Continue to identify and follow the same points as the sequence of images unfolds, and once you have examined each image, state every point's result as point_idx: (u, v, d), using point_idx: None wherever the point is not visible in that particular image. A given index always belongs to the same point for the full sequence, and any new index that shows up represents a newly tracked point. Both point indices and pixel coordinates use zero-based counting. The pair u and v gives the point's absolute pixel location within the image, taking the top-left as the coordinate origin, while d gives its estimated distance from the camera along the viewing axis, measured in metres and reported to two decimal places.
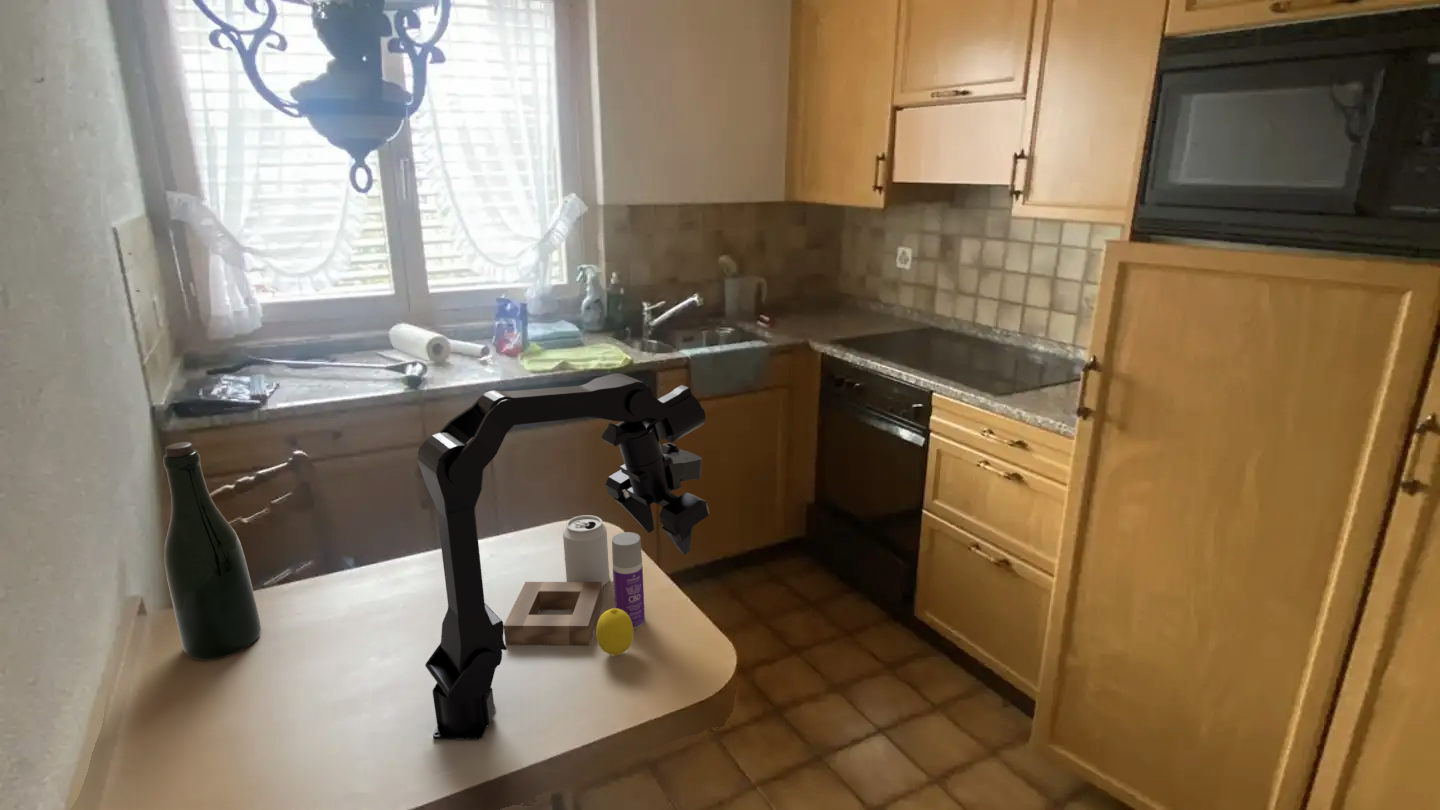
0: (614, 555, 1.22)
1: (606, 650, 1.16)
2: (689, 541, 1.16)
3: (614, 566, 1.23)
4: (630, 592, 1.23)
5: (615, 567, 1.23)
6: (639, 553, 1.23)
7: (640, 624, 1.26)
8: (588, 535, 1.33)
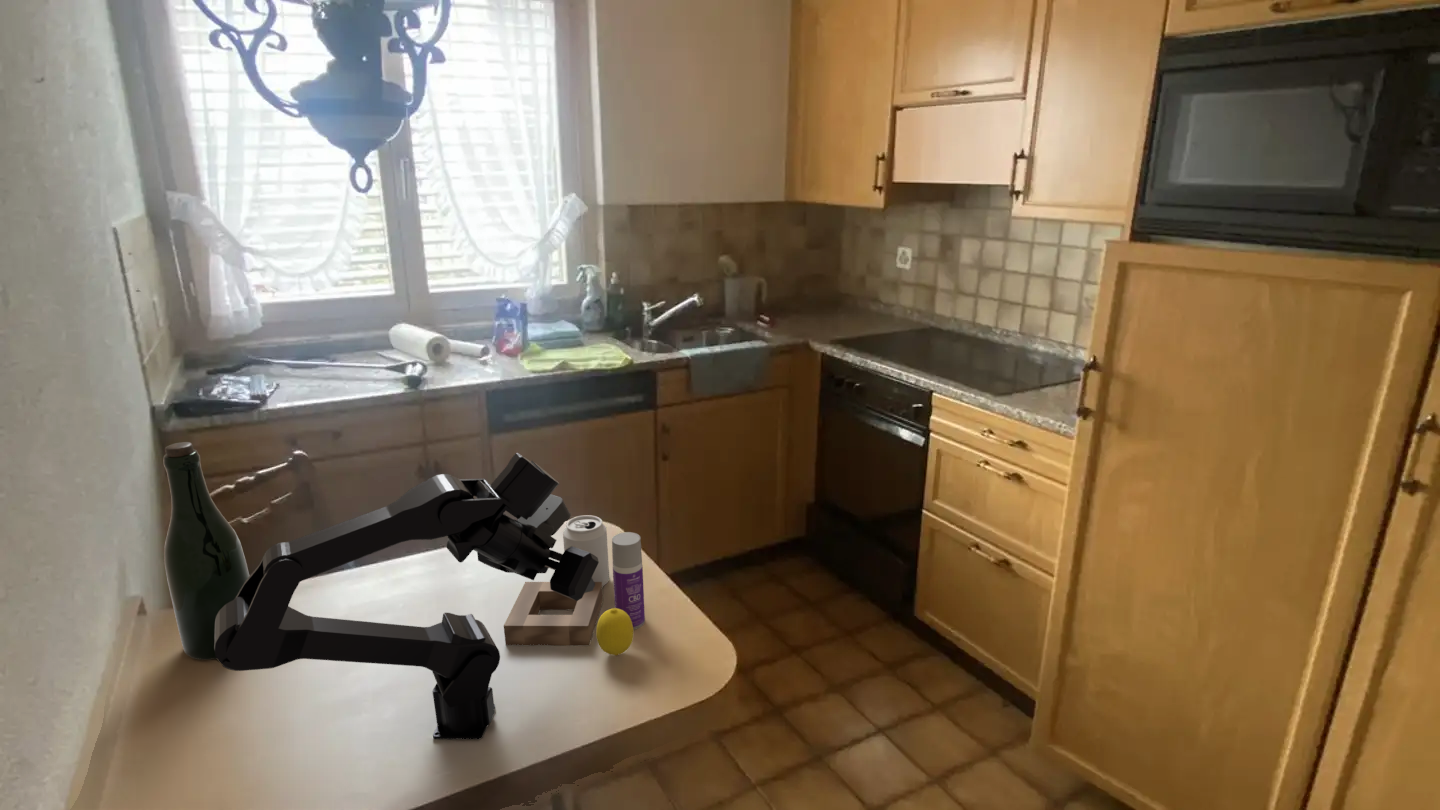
0: (614, 555, 1.22)
1: (606, 650, 1.16)
2: (590, 580, 1.10)
3: (614, 566, 1.23)
4: (630, 592, 1.23)
5: (615, 567, 1.23)
6: (639, 553, 1.23)
7: (640, 624, 1.26)
8: (588, 535, 1.33)
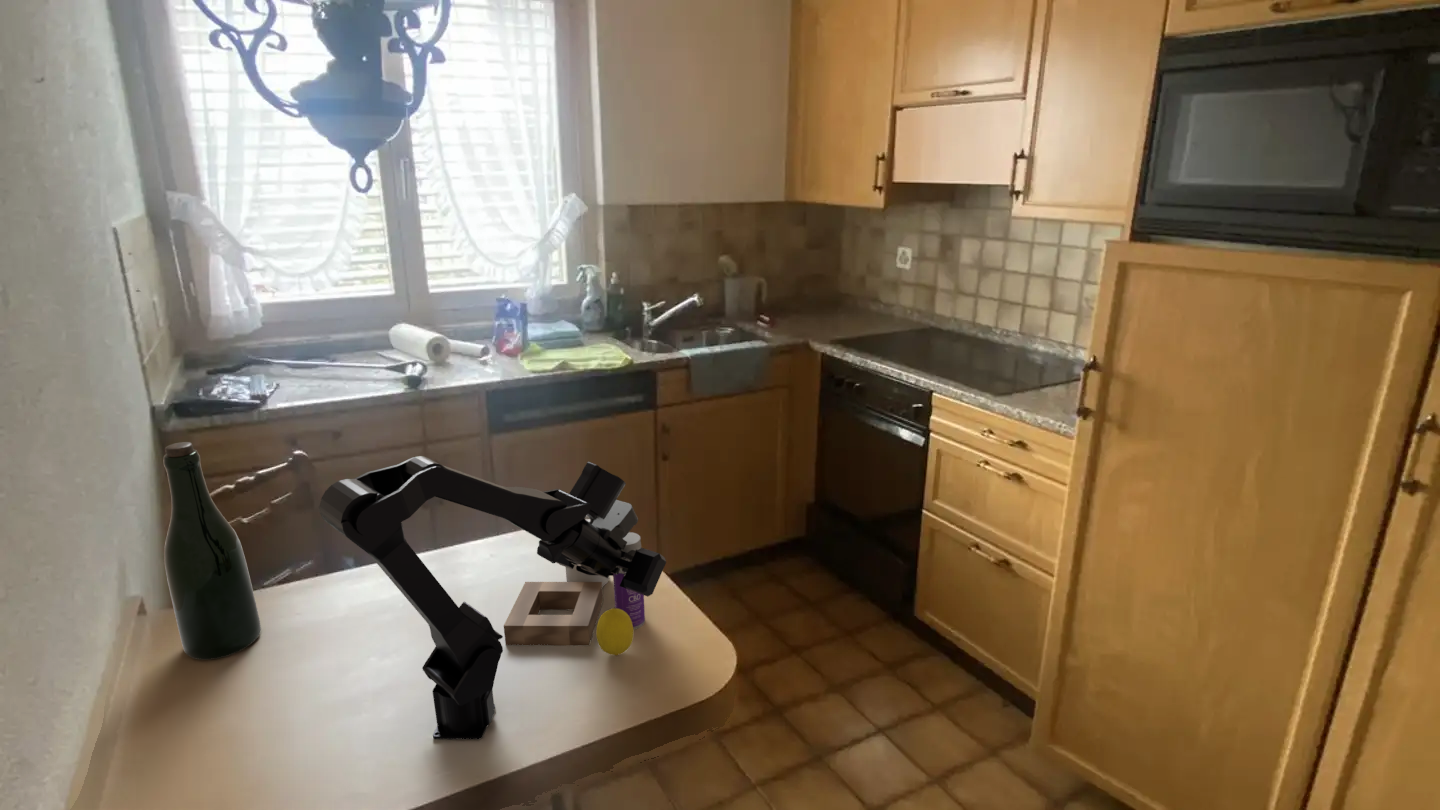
0: None
1: (606, 650, 1.16)
2: None
3: None
4: (630, 592, 1.23)
5: None
6: None
7: (640, 624, 1.26)
8: None
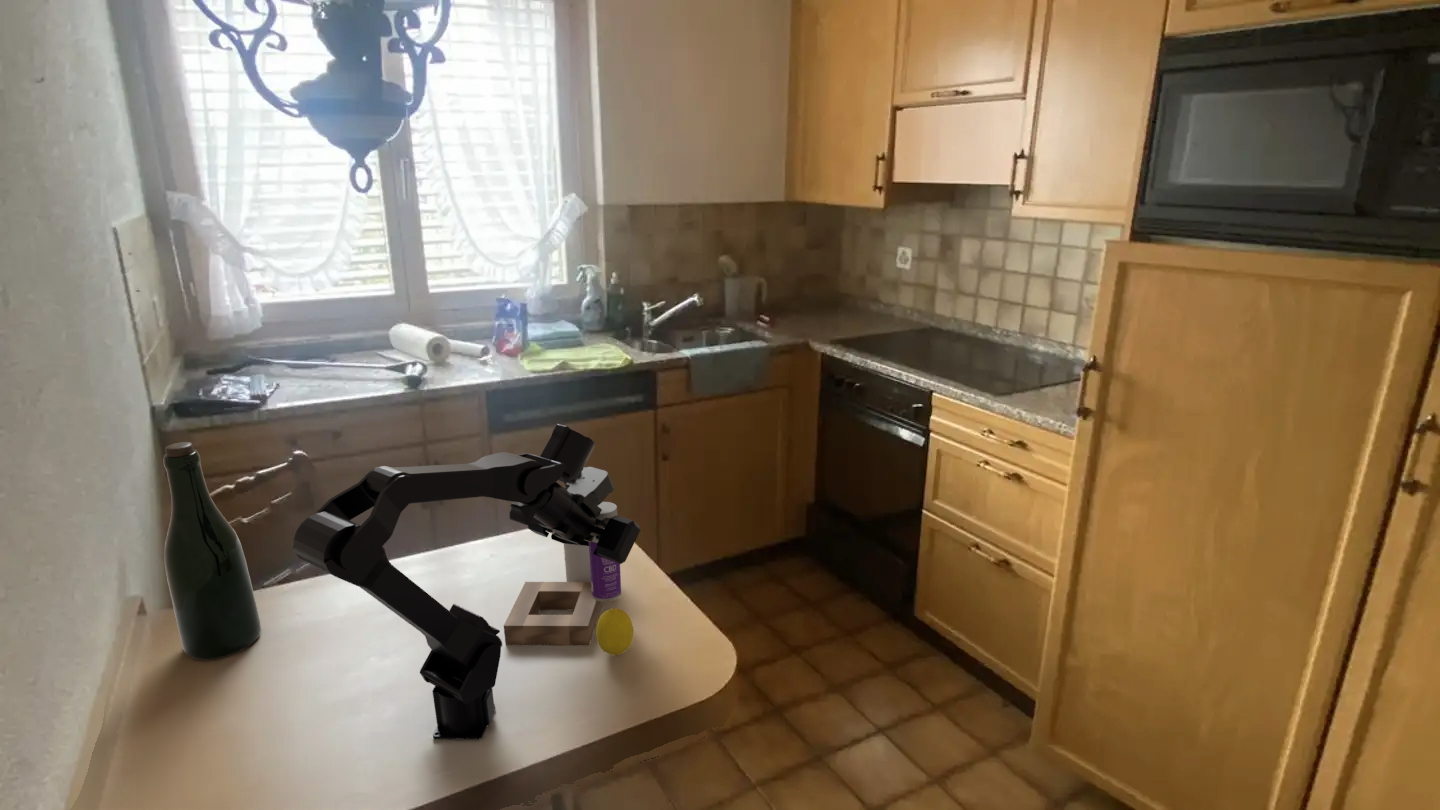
0: None
1: (606, 650, 1.16)
2: None
3: None
4: (606, 562, 1.22)
5: None
6: None
7: (615, 596, 1.24)
8: None
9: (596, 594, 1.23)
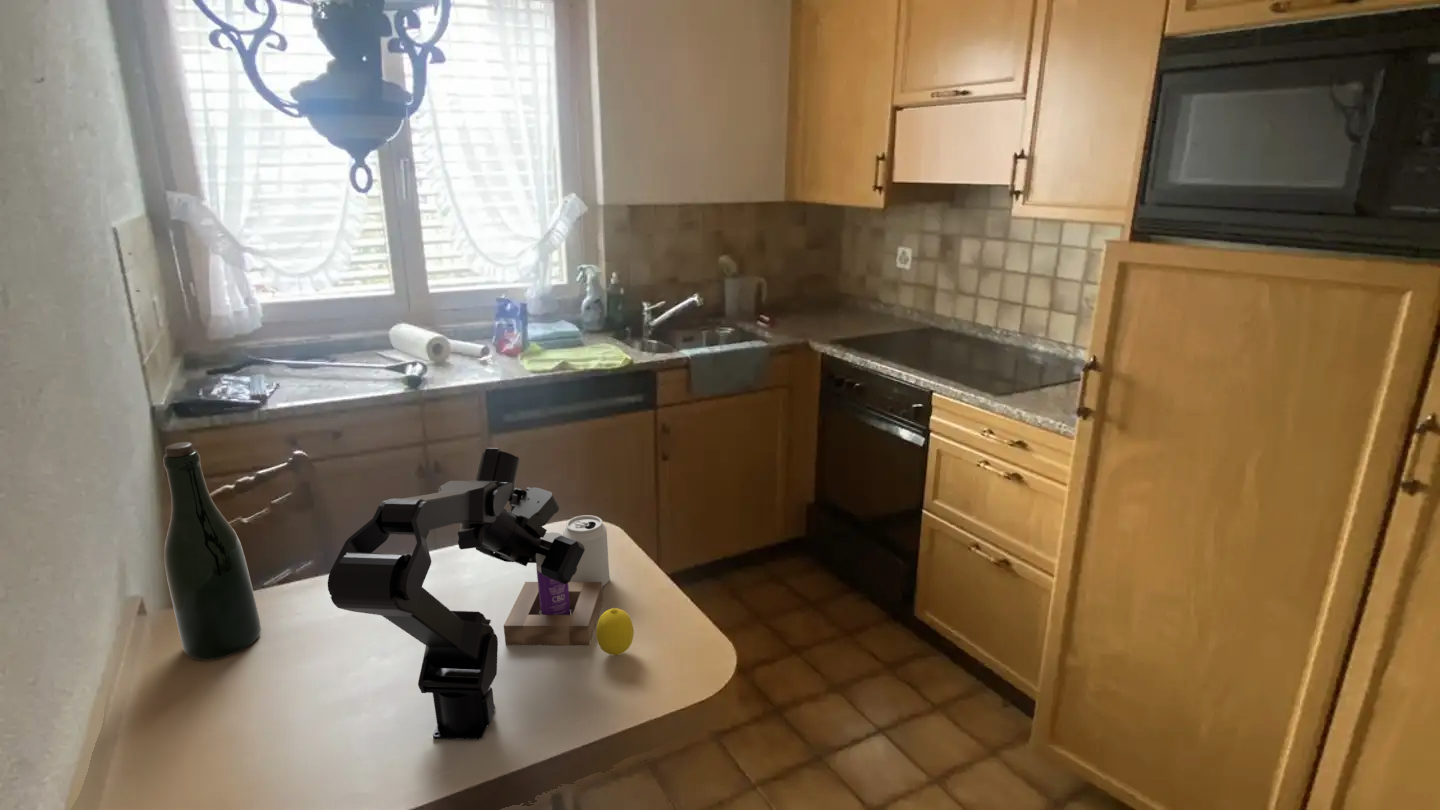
0: (536, 556, 1.23)
1: (606, 650, 1.16)
2: None
3: (537, 566, 1.23)
4: (554, 592, 1.24)
5: (538, 567, 1.23)
6: None
7: None
8: (588, 535, 1.33)
9: None
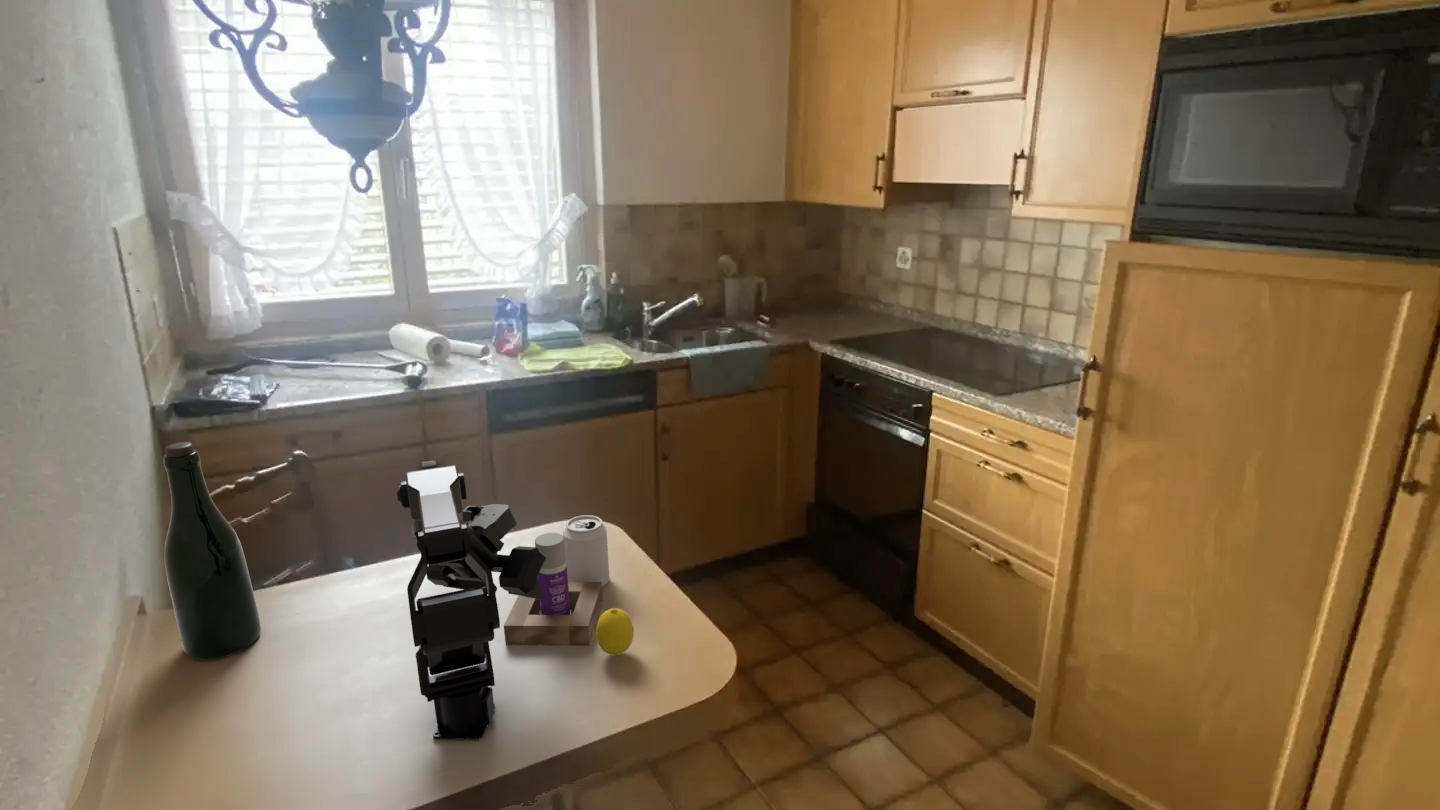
0: None
1: (606, 650, 1.16)
2: (539, 586, 1.14)
3: None
4: (554, 592, 1.23)
5: None
6: (562, 554, 1.23)
7: None
8: (588, 535, 1.33)
9: None
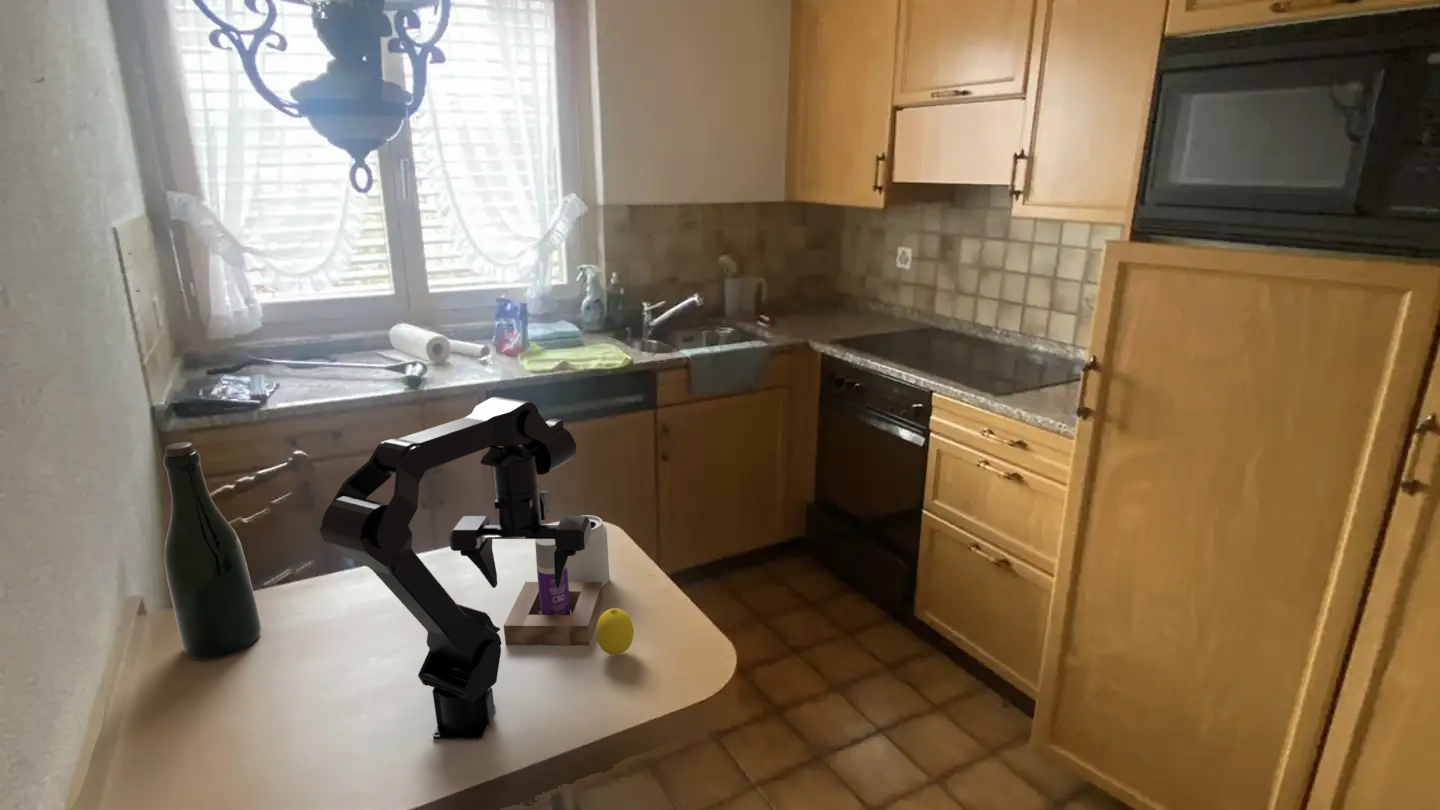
0: (537, 556, 1.23)
1: (606, 650, 1.16)
2: (563, 571, 1.13)
3: (538, 566, 1.23)
4: (554, 592, 1.24)
5: (538, 567, 1.23)
6: None
7: None
8: None
9: None
